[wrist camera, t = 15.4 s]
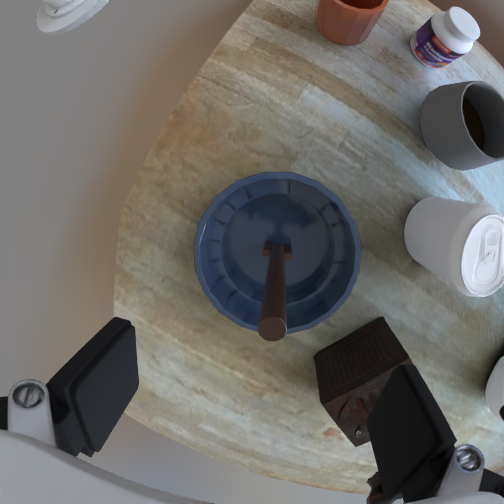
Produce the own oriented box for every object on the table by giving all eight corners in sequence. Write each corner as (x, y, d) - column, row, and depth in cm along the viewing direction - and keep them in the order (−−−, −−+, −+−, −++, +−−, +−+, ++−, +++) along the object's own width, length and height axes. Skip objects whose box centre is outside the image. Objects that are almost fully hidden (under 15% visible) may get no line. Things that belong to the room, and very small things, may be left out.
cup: (418, 175, 28) (467, 177, 18) (397, 97, 26) (437, 70, 16) (476, 164, 26) (528, 165, 17) (456, 93, 24) (503, 74, 15)
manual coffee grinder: (306, 357, 35) (316, 474, 17) (383, 313, 32) (446, 413, 15) (353, 420, 37) (372, 516, 19) (416, 386, 34) (460, 474, 17)
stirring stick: (263, 249, 31) (241, 336, 14) (265, 236, 31) (245, 311, 13) (289, 253, 31) (297, 345, 14) (292, 241, 31) (304, 321, 13)
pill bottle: (408, 60, 24) (445, 28, 15) (408, 28, 23) (440, -8, 14) (445, 76, 24) (488, 53, 15) (444, 44, 23) (482, 16, 13)
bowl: (183, 228, 32) (162, 239, 26) (294, 145, 29) (297, 137, 23) (262, 330, 34) (257, 358, 28) (370, 261, 31) (388, 278, 25)
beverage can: (398, 264, 31) (448, 305, 19) (403, 194, 29) (462, 204, 17) (452, 263, 30) (509, 298, 18) (458, 198, 28) (523, 211, 16)
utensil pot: (302, 16, 24) (306, -22, 17) (344, -3, 23) (356, -39, 15) (339, 53, 25) (354, 21, 18) (379, 33, 24) (401, 2, 16)
